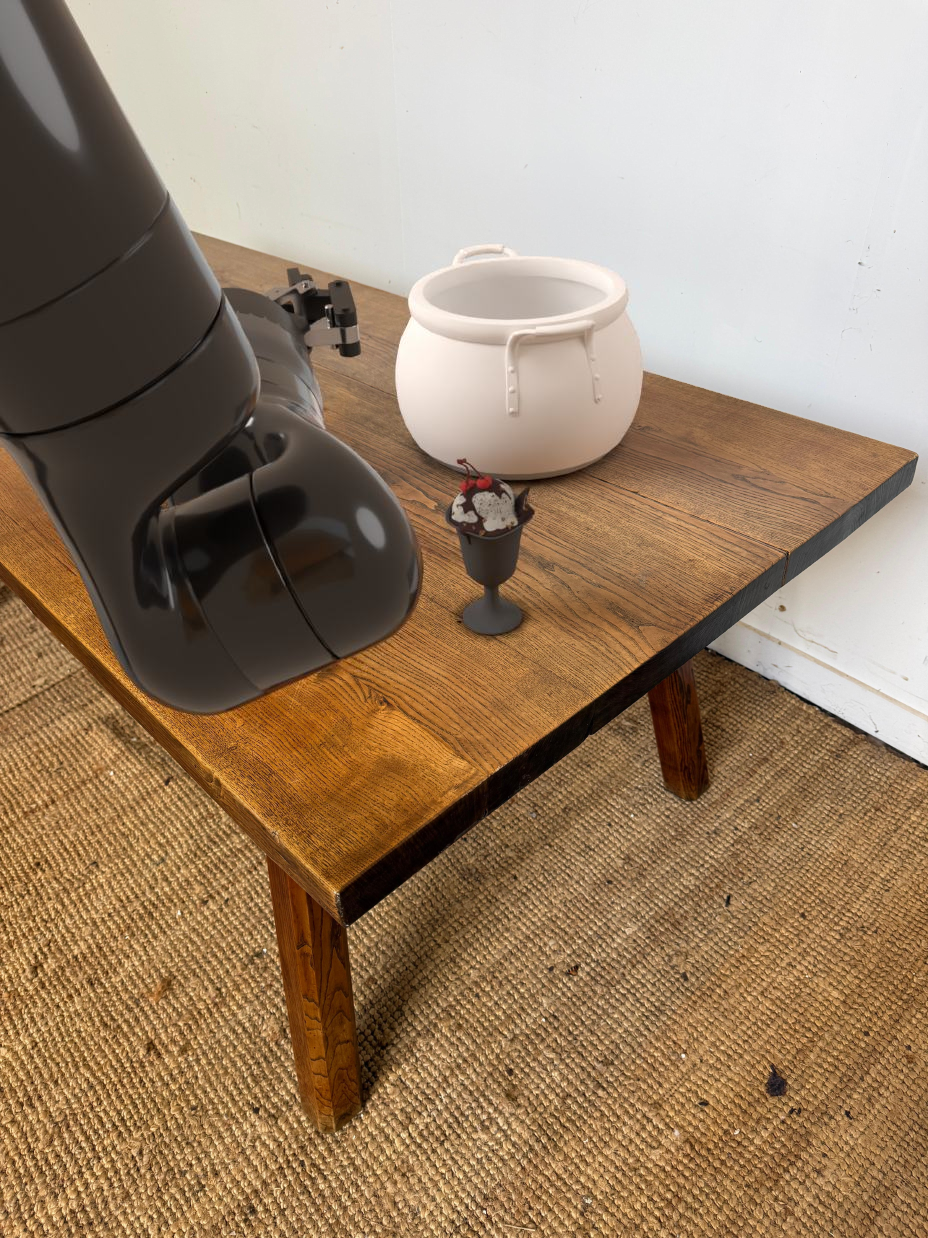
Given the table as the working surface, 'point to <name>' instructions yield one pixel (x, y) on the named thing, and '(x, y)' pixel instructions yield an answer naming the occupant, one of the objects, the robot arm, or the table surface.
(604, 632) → the table surface
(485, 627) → the sundae
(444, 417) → the pot
